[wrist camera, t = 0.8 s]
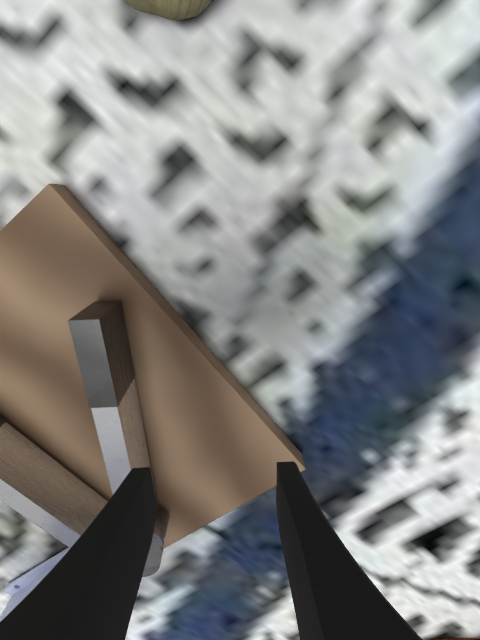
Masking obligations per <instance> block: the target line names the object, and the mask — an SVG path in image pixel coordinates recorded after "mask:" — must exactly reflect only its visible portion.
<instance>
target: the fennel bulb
mask: <svg viewBox="0 0 480 640" xmlns="http://www.w3.org/2000/svg"><path fill="white" fill-rule="evenodd" d="M124 1H125V2H126V3H127V4H129V5H130V6H131V7H133V8H134V9H136V10H138V11H139V10H140V11H142V12H146V13H150V14H156V15H160V16H162V17H164V18H167V19H171V20H183V19H187V18H191V17H196V16H197V15H199V14H200V13H201V12H202V11H203V10H204V9H205V8H206V7H207V6H209V5H210V3H211V2H212V1H213V0H124Z"/></svg>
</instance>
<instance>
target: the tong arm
mask: <svg viewBox="0 0 480 640" xmlns="http://www.w3.org/2000/svg"><path fill="white" fill-rule="evenodd" d="M68 324H69V328H70V332H71V336H72V340H73V344H74V348H75V352H76V356H77V360H78V364H79V368H80V372H81V376H82V380H83V384H84V388H85V392H86V396H87V400H88V404H89V408H91V410H92V414H93V418H94V422H95V426H96V430H97V434H98V438H99V442H100V446H101V450H102V454H103V458H104V462H105V466H106V470H107V474H108V478H109V482H110V486H111V490H112V494H114V493H115V491H116V490H117V489H118V487H119V486H120V484H121V483H122V482H123V480H124V479H125V478H126V476H127V475H128V473H129V472H130V471H131V470H132V469H133V468H143V467H150V469H151V466H150V461H149V455H148V450H147V444H146V439H145V433H144V428H143V422H142V417H141V412H140V406H139V401H138V395H137V390H136V384H135V379H134V378H135V372H134V367H133V361H132V356H131V350H130V345H129V339H128V334H127V328H126V323H125V317H124V312H123V306H122V301H121V300H109V301H94V302H93V303H92V304H90V305H89V306H87V307H86V308H85V309H83V310H82V311H80V312H79V313H77V314H76V315H75V316H73V317H72V318H70V319H69V320H68ZM151 475H152V472H151ZM152 480H153V477H152ZM153 486H154V483H153ZM154 491H155V488H154ZM155 497H156V494H155ZM156 502H157V499H156ZM157 508H158V509H157V515H156V521H155V527H154V532H153V538H152V543H151V546H150V550H149V554H148V557H147V561H146V564H145V568H144V571H143V575H142V577H146V576H150V575H152V574H154V573H155V572H157V570H158V569H159V566H160V562H161V557H162V552H163V547H164V542H165V537H166V533H167V528H168V523H169V516H168V514H167V512H166V511H165V510H164V509H162V508H160V507H158V505H157Z"/></svg>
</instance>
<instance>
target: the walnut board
mask: <svg viewBox="0 0 480 640" xmlns="http://www.w3.org/2000/svg"><path fill="white" fill-rule="evenodd" d="M109 300H121V301H122V306H123V312H124V317H125V323H126V328H127V334H128V339H129V345H130V350H131V356H132V361H133V367H134V372H135V378H134V379H135V384H136V390H137V395H138V401H139V406H140V412H141V417H142V422H143V428H144V433H145V439H146V444H147V450H148V455H149V461H150V466H151V472H152V477H153V483H154V488H155V494H156V499H157V505H158V507H160V508H162V509H164V510H165V511H166V512H167V514H168V516H169V523H168V528H167V533H166V537H165V542H164V547H163V549H164V548H165V547H167V546H169V545H171V544H173V543H174V542H176V541H178V540H180V539H182V538H183V537H185V536H187V535H189V534H190V533H192V532H194V531H196V530H198V529H199V528H201V527H203V526H205V525H207V524H208V523H210V522H212V521H214V520H216V519H217V518H219V517H221V516H223V515H224V514H226V513H228V512H230V511H232V510H233V509H235V508H237V507H239V506H241V505H242V504H244V503H246V502H248V501H250V500H251V499H253V498H255V497H257V496H258V495H260V494H262V493H264V492H266V491H267V490H269V489H271V488H273V487H275V486H276V485H277V462H291V461H294V462H295V463H296V464H297V466H298V468H299V470H300V472H301V471H303V470H305V469H306V468H305V464H304V461H303V457H302V453H301V452H300V451H299V450H298V449H297V448H296V447H295V445H294V444H293V443H292V442H291V441H290V440H289V439H288V438H287V436H286V435H285V434H284V433H283V432H282V431H281V430H280V429H279V427H278V426H277V425H276V424H275V423H274V422H273V421H272V419H271V418H270V417H269V416H268V415H267V414H266V413H265V412H264V410H263V409H262V408H261V407H260V406H259V405H258V404H257V403H256V401H255V400H254V399H253V398H252V397H251V396H250V395H249V393H248V392H247V391H246V390H245V389H244V388H243V387H242V386H241V384H240V383H239V382H238V381H237V380H236V379H235V378H234V377H233V375H232V374H231V373H230V372H229V371H228V370H227V369H226V367H225V366H224V365H223V364H222V363H221V362H220V361H219V360H218V358H217V357H216V356H215V355H214V354H213V353H212V352H211V351H210V349H209V348H208V347H207V346H206V345H205V344H204V343H203V341H202V340H201V339H200V338H199V337H198V336H197V335H196V334H195V332H194V331H193V330H192V329H191V328H190V327H189V326H188V325H187V323H186V322H185V321H184V320H183V319H182V318H181V317H180V315H179V314H178V313H177V312H176V311H175V310H174V309H173V308H172V306H171V305H170V304H169V303H168V302H167V301H166V300H165V299H164V297H163V296H162V295H161V294H160V293H159V292H158V291H157V289H156V288H155V287H154V286H153V285H152V284H151V283H150V282H149V280H148V279H147V278H146V277H145V276H144V275H143V274H142V273H141V271H140V270H139V269H138V268H137V267H136V266H135V265H134V264H133V262H132V261H131V260H130V259H129V258H128V257H127V256H126V254H125V253H124V252H123V251H122V250H121V249H120V248H119V247H118V245H117V244H116V243H115V242H114V241H113V240H112V239H111V238H110V236H109V235H108V234H107V233H106V232H105V231H104V230H103V228H102V227H101V226H100V225H99V224H98V223H97V222H96V221H95V219H94V218H93V217H92V216H91V215H90V214H89V213H88V212H87V210H86V209H85V208H84V207H83V206H82V205H81V204H80V202H79V201H78V200H77V199H76V198H75V197H74V196H73V195H72V193H71V192H70V191H69V190H68V189H67V188H66V187H65V186H64V185H58V184H48V185H47V186H46V187H45V188H44V189H43V190H42V191H41V192H40V193H39V194H38V195H37V196H36V197H35V198H34V199H33V200H32V201H31V202H30V203H29V204H28V205H27V206H25V207H24V208H23V209H22V210H21V211H20V212H19V213H18V214H17V215H16V216H15V217H14V218H13V219H12V220H11V221H10V222H9V223H8V224H7V225H6V226H5V227H4V228H3V229H2V230H1V231H0V416H1V417H2V418H4V419H5V420H6V422H7V423H8V424H9V425H11V426H12V427H13V428H14V429H16V430H17V431H18V432H19V433H21V434H22V435H23V436H25V437H26V438H27V439H28V440H30V441H31V442H32V443H34V444H35V445H36V446H37V447H39V448H40V449H41V450H42V451H44V452H45V453H46V454H48V455H49V456H50V457H51V458H53V459H54V460H55V461H57V462H58V463H59V464H60V465H62V466H63V467H64V468H65V469H67V470H68V471H69V472H71V473H72V474H73V475H74V476H76V477H77V478H78V479H80V480H81V481H82V482H83V483H85V484H86V485H87V486H89V487H90V488H91V489H92V490H94V491H95V492H96V493H97V494H99V495H100V496H101V497H103V498H104V499H105V500H106V501H109V499H110V498H111V497H112V495H113V494H112V490H111V486H110V482H109V478H108V474H107V470H106V466H105V462H104V458H103V454H102V450H101V446H100V442H99V438H98V434H97V430H96V426H95V422H94V418H93V414H92V410H91V408H89V404H88V400H87V396H86V392H85V388H84V384H83V380H82V376H81V372H80V368H79V364H78V360H77V356H76V352H75V348H74V344H73V340H72V336H71V332H70V328H69V324H68V320H69V319H70V318H72V317H73V316H75V315H76V314H77V313H79V312H80V311H82V310H83V309H85V308H86V307H87V306H89V305H90V304H92V303H93V302H94V301H109Z"/></svg>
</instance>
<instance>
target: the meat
mask: <svg viewBox="0 0 480 640" xmlns="http://www.w3.org/2000/svg"><path fill="white" fill-rule="evenodd" d="M433 640H480V639H469V638H464V639H455V638H446V639H433Z"/></svg>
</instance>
